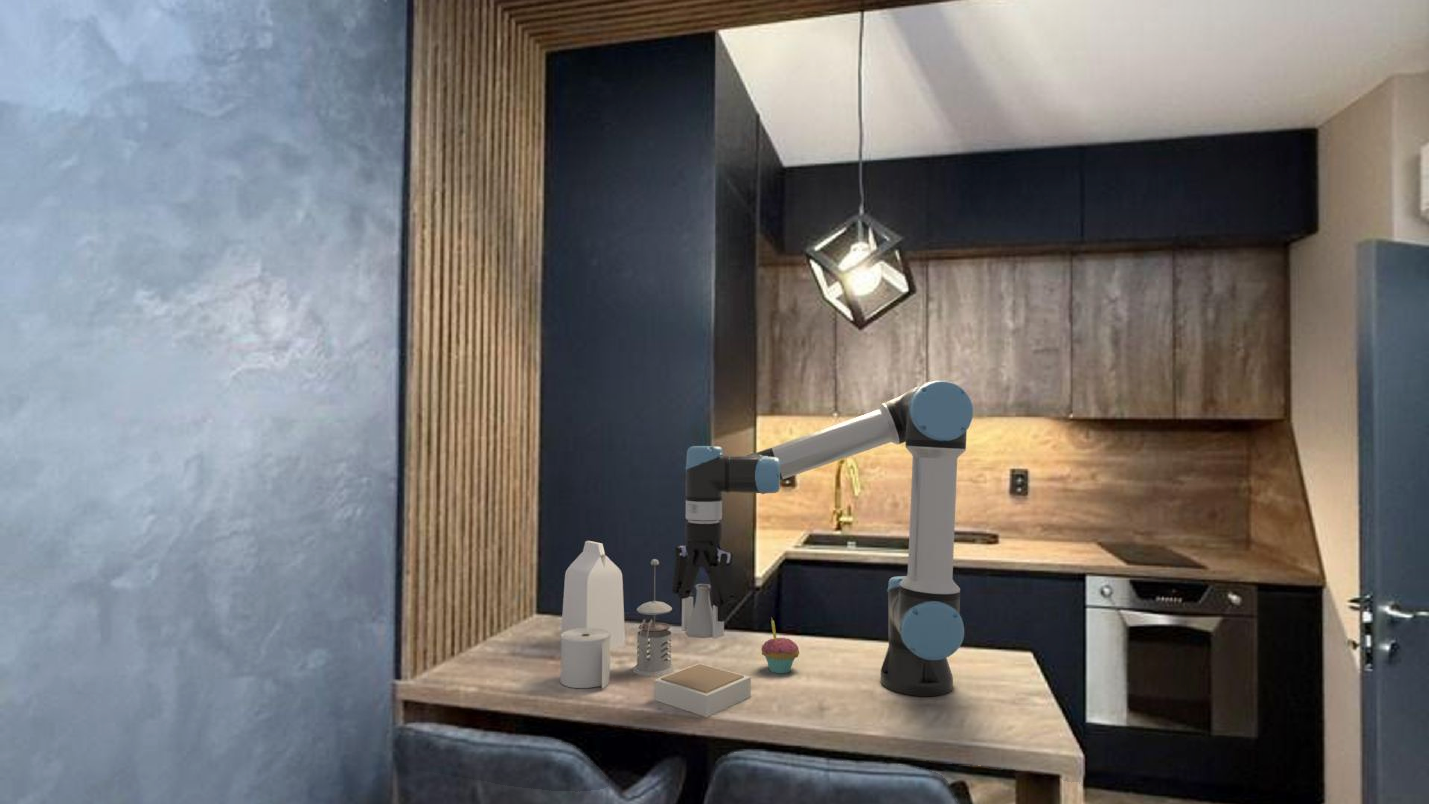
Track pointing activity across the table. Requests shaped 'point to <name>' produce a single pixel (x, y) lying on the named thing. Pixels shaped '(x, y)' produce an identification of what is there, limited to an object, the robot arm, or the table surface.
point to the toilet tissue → (585, 658)
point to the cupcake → (779, 653)
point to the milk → (594, 594)
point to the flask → (701, 614)
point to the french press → (653, 640)
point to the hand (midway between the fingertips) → (702, 633)
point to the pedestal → (702, 689)
